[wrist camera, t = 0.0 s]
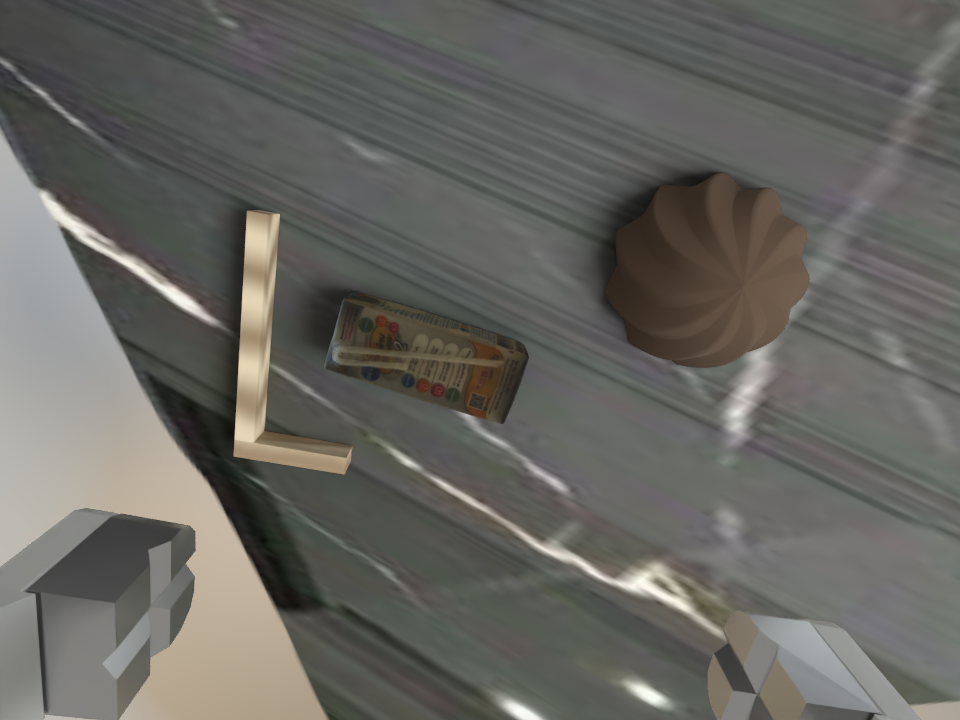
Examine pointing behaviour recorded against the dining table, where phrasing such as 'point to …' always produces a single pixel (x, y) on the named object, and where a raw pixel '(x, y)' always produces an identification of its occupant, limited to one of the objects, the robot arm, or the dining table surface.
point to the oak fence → (256, 362)
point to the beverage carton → (426, 356)
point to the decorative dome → (708, 272)
